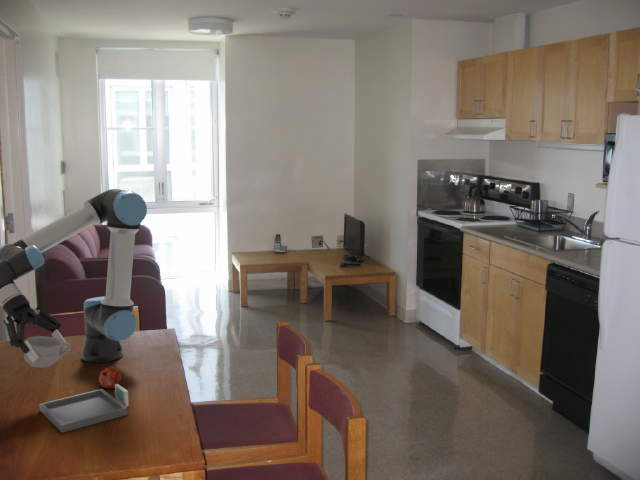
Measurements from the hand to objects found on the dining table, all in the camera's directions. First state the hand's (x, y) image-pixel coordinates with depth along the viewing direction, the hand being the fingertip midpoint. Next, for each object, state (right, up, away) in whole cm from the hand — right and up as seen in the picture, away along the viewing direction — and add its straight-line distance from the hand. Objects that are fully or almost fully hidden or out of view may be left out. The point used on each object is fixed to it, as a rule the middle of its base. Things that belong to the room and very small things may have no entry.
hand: (51, 353), depth 219 cm
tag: (+22, -16, +2) cm, 27 cm away
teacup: (-3, -4, +2) cm, 5 cm away
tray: (+12, -17, -6) cm, 22 cm away
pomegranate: (+14, -14, +15) cm, 25 cm away
